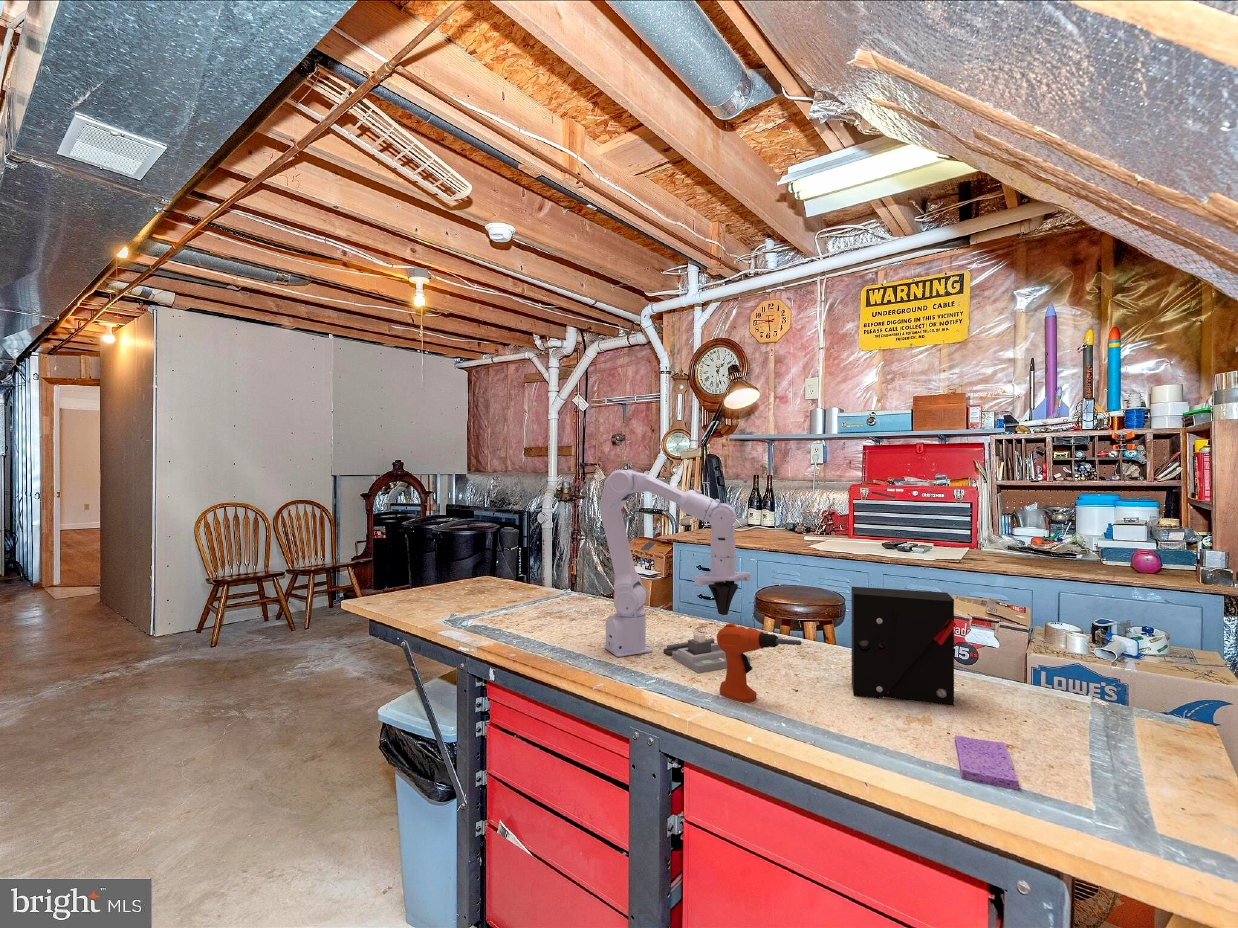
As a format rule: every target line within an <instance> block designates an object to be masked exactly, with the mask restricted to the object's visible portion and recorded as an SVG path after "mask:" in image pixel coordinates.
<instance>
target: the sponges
mask: <svg viewBox="0 0 1238 928" xmlns="http://www.w3.org/2000/svg"><path fill="white" fill-rule="evenodd" d="M954 745H955V749H956V754H957V755H956V756H957V760H958V766H959V767H958V769H959V773H960V779H963V780H969V781H972V782H973V781H974V782H978V783H982V784H988V785H993V786H998V787H1003V788H1008V789H1014V790H1019V784H1020V783H1019V782H1020V781H1019V778H1018V776H1017V773H1016V771H1015V768H1014V764H1013V762H1012V759H1011V756H1010V754H1009V750H1008V748H1007V744H1006V742H1002V741H994V740H987V739H978V738H974V737H973V738H972V737H967V736H963V735H958V734H955V735H954Z"/></svg>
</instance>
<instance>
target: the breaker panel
mask: <svg viewBox="0 0 1238 928" xmlns="http://www.w3.org/2000/svg"><path fill="white" fill-rule="evenodd" d="M745 655H746V654H745ZM746 656H747V659H748V662H749V664H750V665H751V657H750V656H749V655H746ZM671 658H672V659H673V660H675V661H676V662H678V663H680V664H682V665H683V666H685V667H686V668H688V669H690V670H692V671H694V672H695V673H697V674H702V673H708V672H712V671H718V670H724V669H727V661H726V654H725V652H724V651H723V650H722V649H721V648H720V647H719V645H718V643H717V642H714V644H711V652H710V653H704V654H698V655H693V654H691V653H689V652H688V648H682V649H678V651H672V655H671Z"/></svg>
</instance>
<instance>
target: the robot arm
mask: <svg viewBox="0 0 1238 928" xmlns="http://www.w3.org/2000/svg"><path fill="white" fill-rule="evenodd" d="M702 492H703V491H702V490H700V489H695V490H693V489H688V490H687V491H684V490H683V491H682V490H681V489H679V488H677V487H675V486H672V485H671V484H669V483H666V482H665V481H662V480H660V479H658V478H656V477H654V476H652V475H649V474H646V473H644V472H637V471H636V470H634V469H616V470H613V471H612V472H611V473H610V474H609V475H608V476H607V478H606V479H605V481H604V482H603V491H602V494H601V498H600V501H599V503H598V504H599V505H598V506H599V507H598V508H599V513H600V516H601V521H602V525H603V526H602V527H603V529H604V534H605V539H606V541H607V546H608V547H607V548H608V550H609V551H608V552H609V555H610V558H611V563H612V567H613V572H614V584H613V590H614V597H613V606H614V609H615V614H613V615H610V616H608V617H607V618H606V621H605V645H604V649H606V650H607V651H609V652H610V653H611V654H612V655H614V656H616V657H617V658H620V657H626V656H631V655H639V654H646V653H651V652H653V648H651V647H649V646H647V638H646V637H647V634H646V633H647V632H646V631H647V630H646V625H647V623H646V622H647V621H646V617H647V616H646V615H647V613H646V611H647V610H646V609H645V607H644V605H645V604H646V603H647V601H648V597H649V593H648V590H647V588H646V587H645V586H644V584H643V583H642V579H641V577H640V575H639V574H638V572H637V571H636V567H635V563H634V558H633V555H632V549H631V546H630V542H629V538H628V533H627V529H626V524H625V520H624V517H623V511H622V508H623V507H624V506H625V504H626V503H627V502H628V499H630V498H631V497H633V495H635V494H636V493H651V494H654V495H656V496H659V497H661V498H662V499H665V500H668V501H670V502H672V503H676V504H677V505H679V508H680V511H681V512H683V513H685V514H687V515H688V516H691V517H694V518H696V519H698V520H700V521H702V522H703V523H709V525H710V526H711V532H710V533H711V535H710V573H707V574H702V575H698V576H697V575H695V576H694V585H695V586H698V587H703V586H707V585H708V588H709V590H710V591H711V594H712V596H713V598H714V601H715V605H716V609H717V610H716V611H717V613H718V615H722V616H728V614H729V611H730V607H731V604H732V601H733V597H734V596H735V594H736V592H737V591H738V589H739V585H738V584H737V583H736V582H750V581H751V572H748V571H736V535H735V534H736V529H735V525H734V524H735V523H736V520H737V513H736V510H735V508H734V507H733V506H731V505H730V504H729V503H727V502H724V503H723V502H721V500H720V499H719V498H716V499H713V498H712V497H709V496H707V495H704V494H702ZM720 502H721V503H720Z"/></svg>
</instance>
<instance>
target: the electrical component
mask: <svg viewBox="0 0 1238 928" xmlns="http://www.w3.org/2000/svg"><path fill="white" fill-rule="evenodd" d="M850 597H851V598H850V599H851V687H852V688H851V689H852V694H853V695H852V696H853V697H859V698H867V699H868V698H870V699H879V700H880V699H883V698H886V699H893V700H895V699H896V700H902V701H910V702H917V703H918V702H919V703H925V704H926V703H927V704H933V705H935V704H936V705H943V706H951V707H952V706H953V707H955V627H956V625H957V623H956V622H955V599H954V598H953V596H951V595H950V594H949V593H948V592H944V591H943V592H942V591H941V592H940V591H929V590H928V591H927V590H911V589H899V588H898V589H896V588H880V587H864V586H851V596H850Z"/></svg>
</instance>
